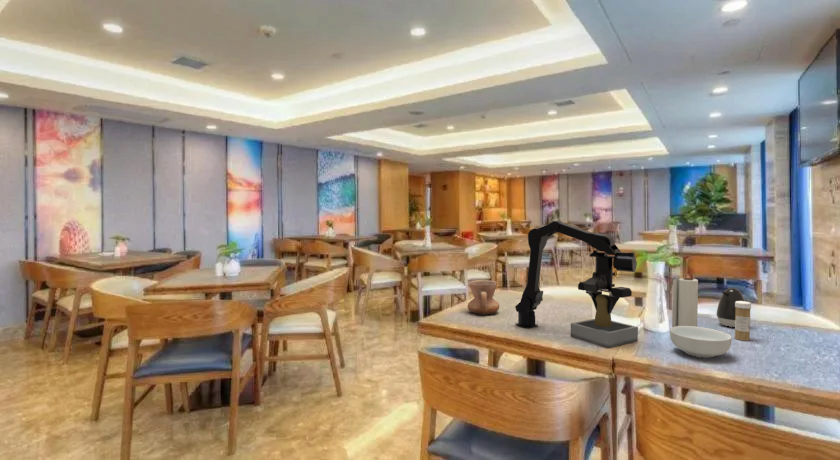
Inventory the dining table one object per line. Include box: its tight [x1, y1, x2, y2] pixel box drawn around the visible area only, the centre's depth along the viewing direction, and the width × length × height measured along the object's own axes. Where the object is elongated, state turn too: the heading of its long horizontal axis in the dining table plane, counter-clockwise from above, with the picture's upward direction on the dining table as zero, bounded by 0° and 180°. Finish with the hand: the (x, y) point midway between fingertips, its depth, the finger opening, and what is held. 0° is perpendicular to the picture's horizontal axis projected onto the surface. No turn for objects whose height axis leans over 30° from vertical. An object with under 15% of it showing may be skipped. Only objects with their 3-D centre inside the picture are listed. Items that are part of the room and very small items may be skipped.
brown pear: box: [594, 293, 613, 327], centre depth 160 cm, size 6×6×11 cm
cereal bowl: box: [669, 326, 732, 359], centre depth 143 cm, size 17×17×7 cm
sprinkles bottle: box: [734, 301, 752, 342], centre depth 158 cm, size 5×5×13 cm
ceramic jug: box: [467, 279, 500, 315], centre depth 203 cm, size 18×14×14 cm
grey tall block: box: [671, 277, 699, 328], centre depth 161 cm, size 7×6×21 cm
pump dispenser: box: [716, 287, 745, 328], centre depth 176 cm, size 10×10×15 cm
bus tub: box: [570, 318, 639, 349], centre depth 161 cm, size 16×16×5 cm
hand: (603, 312), depth 160 cm, fingers closed on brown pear, 4 cm apart
